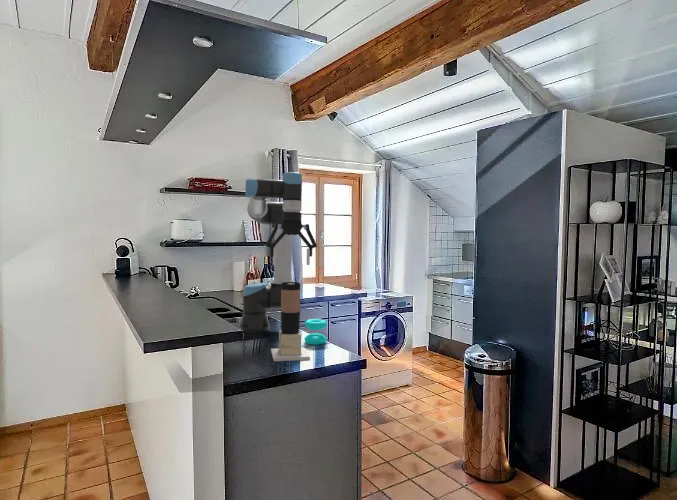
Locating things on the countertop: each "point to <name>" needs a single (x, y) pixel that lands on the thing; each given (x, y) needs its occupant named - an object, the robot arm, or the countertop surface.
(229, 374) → the countertop surface
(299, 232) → the robot arm
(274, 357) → the white flat square slab
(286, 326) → the travel mug
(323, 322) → the donuts
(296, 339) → the wooden cube
